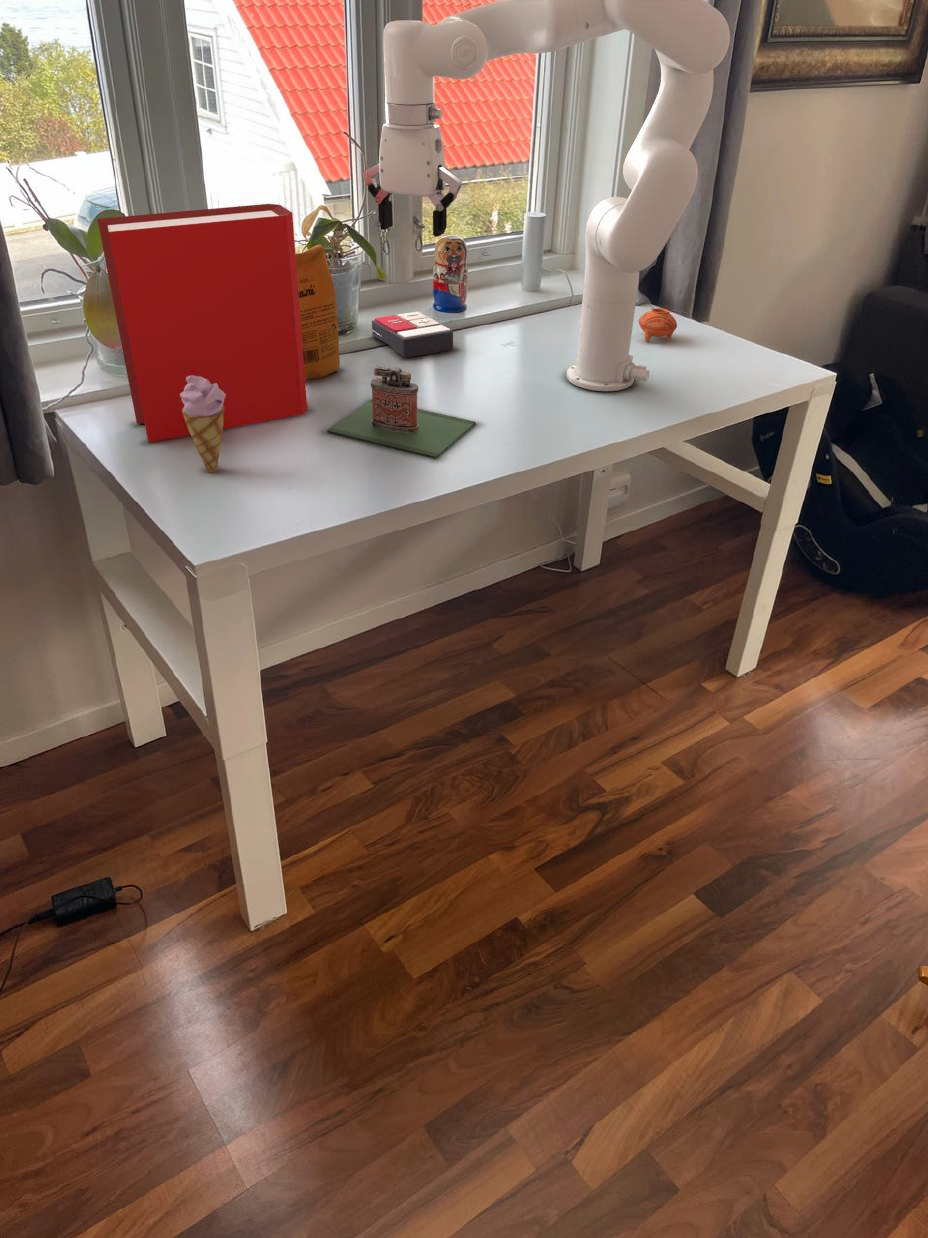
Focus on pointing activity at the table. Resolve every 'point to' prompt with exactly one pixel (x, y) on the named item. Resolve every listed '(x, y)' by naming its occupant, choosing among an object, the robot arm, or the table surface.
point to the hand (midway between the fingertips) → (412, 231)
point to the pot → (657, 323)
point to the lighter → (394, 400)
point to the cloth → (427, 441)
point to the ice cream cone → (204, 418)
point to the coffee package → (317, 314)
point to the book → (208, 312)
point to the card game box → (413, 334)
